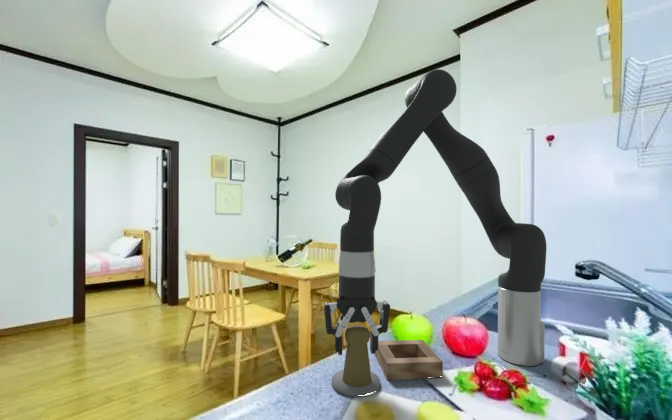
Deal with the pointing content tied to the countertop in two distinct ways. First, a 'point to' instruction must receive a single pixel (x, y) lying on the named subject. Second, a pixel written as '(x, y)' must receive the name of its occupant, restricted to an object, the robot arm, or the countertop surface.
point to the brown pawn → (357, 357)
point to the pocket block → (408, 360)
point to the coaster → (354, 391)
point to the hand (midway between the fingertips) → (356, 352)
